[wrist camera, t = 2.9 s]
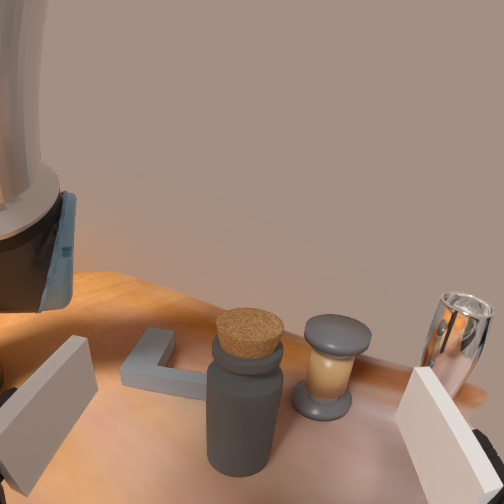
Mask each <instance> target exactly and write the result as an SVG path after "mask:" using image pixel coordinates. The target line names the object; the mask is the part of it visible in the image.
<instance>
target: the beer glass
mask: <svg viewBox="0 0 504 504" xmlns="http://www.w3.org/2000/svg"><path fill="white" fill-rule="evenodd" d="M494 314H495V309H494V308H493V307H492V306H491V305H490V304H489V303H488V302H486V301H484V300H483V299H481V298H479V297H476V296H474V295H470V294H467V293H462V292H456V291H449V292H445V293H443V294H442V295H441V298H440V301H439V304H438V307H437V309H436V312H435V314H434V317H433V320H432V323H431V325H430V328H429V331H428V334H427V338H426V342H425V346H424V351H423V356H422V361H421V366H420V367H430V368H431V369H432V371H433V372H434V374H435V375H436V377H437V378H438V380H439V381H440V382H441V384H442V385H443V387H444V388H445V390H446V391H447V393H448V394H449V396H450V398H451V399H452V401H453V399H454V397H455V396H456V394H457V392H458V391H459V390H460V388H461V387H462V385H463V384H464V382H465V381H466V380H467V378H468V377H469V375H470V374H471V372H472V371H473V369H474V367H475V365H476V364H477V362H478V360H479V358H480V356H481V354H482V351H483V349H484V346H485V344H486V341H487V338H488V335H489V332H490V328H491V325H492V321H493V317H494Z"/></svg>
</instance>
